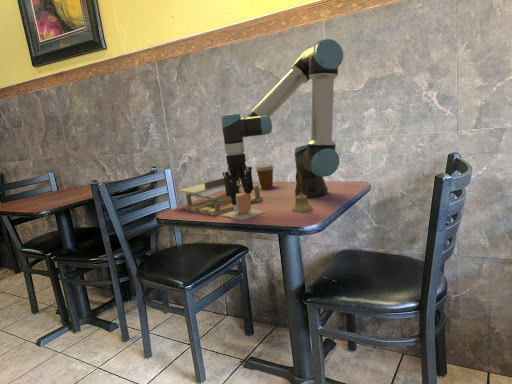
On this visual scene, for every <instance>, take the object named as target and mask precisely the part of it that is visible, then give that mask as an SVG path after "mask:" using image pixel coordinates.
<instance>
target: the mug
mask: <svg viewBox="0 0 512 384" xmlns="http://www.w3.org/2000/svg"><path fill="white" fill-rule="evenodd" d="M230 178H231V174H230ZM234 178H235V177H234ZM230 180H231V179H230ZM237 181H238V183H237V184H241V180H240V178H239V177H238V180H237ZM240 188H241V186H237V189H236V194H238V193H240Z"/></svg>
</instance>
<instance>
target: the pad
mask: <svg viewBox="0 0 512 384" xmlns="http://www.w3.org/2000/svg"><path fill="white" fill-rule="evenodd" d="M265 212H266V211H265V210H259V209H253V208H251V211H248V212H244V213H237V212H234V210H233V211H232V210H231V211H228V212H225V213H222V214H220V215H221V217H224V216H225V218H228V217H230V219H233V218H234V219H235V220H238V219H239V220H240V221H245V219H246V220H248V219H251V218H254V217H257V216H259V215H260V216H261V215H262V214H265Z"/></svg>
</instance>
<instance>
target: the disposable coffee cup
mask: <svg viewBox="0 0 512 384" xmlns="http://www.w3.org/2000/svg"><path fill="white" fill-rule="evenodd" d="M273 169H274V166H273V164H262V165H257V166H256V168H255V170H256V172H257V177H258V181H259V185H260V188H261V189H262V190H268V189H272V188H273V187H274V185H273V183H274V182H273V178H274V170H273Z"/></svg>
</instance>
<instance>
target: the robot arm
mask: <svg viewBox="0 0 512 384" xmlns="http://www.w3.org/2000/svg"><path fill="white" fill-rule="evenodd" d="M343 59H344V50H343V49H342V45H341V44H339V42H337V41H336V40H335V39H330V38H325V39H322V40H319V41H318V42H316V43H315V44H313V45H309V47H307V48H306V49H305V50H303V52H302V53H301V55H300V56H299V57H298V58H297V59H296V61H294V62H293V64H292V65H291V66H290V69H289V70H290V71H288V73H286V75H285V76H284V77H283V78H281V79H280V81H279V82H278V83H277V84H276V85H275V86H274V87H273V88H272V89H271V90H270V91H269V92H267V94H266V96H264V97H263V98H262V100H261V101H259V103H258V104H257V105H255V107H254V108H253V109H252V110H251V111H250V112H249V113H248V114H247V115H246V116H245V117H241V114H240V113H231V114H224V115H222V116H221V125H222V126H221V129H222V136H223V142H224V149H225V150H224V151H225V154H226V156H225V159H226V164H227V170H226V171H222V173H221V174H222V176H223V178H224V181H225V187H224V189H225V195H226V196H230V197H231V205H233V206H234V209H233V211H234V212H237V213H239V212H240V210H239V202H238V197H237V196H236V194H237V193H236V189H237V180H238V177H239V178H240V184H242V186H243V187H242V186H241V187H242V190H243V191H244V192H243V193H248V194H249V197H250V195H251V193H252V191H254V188H253V185H254V182H253V176H252V172H253V171H252V170H253V167H252V166H247V164H246V154H245V143H244V138H247V137H257V136H266V135H269V134H271V133H272V131H273V122H272V119H271V117H272V116H273V114H274V113H275V112H276V111H277V110H278V109H279V108H280V107H281V106H282V105H283V104H284V103H285V102H286V101H287V100H288V99H289V98H290V97H291V96H292V95H293V94H294V93H295V92H296V90H298V89H299V87H300V86H302V85H303V84H307V82H308V81H309V80H312V84H311V86H312V88H311V90H312V91H311V125H310V126H311V132H310V133H311V135H310V141H308V143H307V144H305V145H304V144H303V145H298V146H296V147H295V148H294V160H295V170H296V171H297V170H300V173H301V175H302V191H303V194H304V195H306V196H307V199H310V198H311V199H312V198H318V197H323V196H326V195H327V194H328V193H329V192H328V191H329V190H328V187H327V184H326V182H325V181H326V180H325V179H324V177H329V176H331V175H333V174H334V173H336V172H337V170H338V168H339V165H340V156H339V154H338V153H337V151H336V143H335V142H334V141H333V118H334V114H333V113H334V90H335V87H334V86H335V85H334V82H335V80H336V79H337V77H338V76H339V66H341V64H342V62H343ZM296 171H295V172H296ZM230 174H231V178H230ZM234 177H235V178H234ZM230 179H231V180H230ZM294 195H295V197H296V196H298V195H299V192H298V185H297V183H296V185H295V190H294Z"/></svg>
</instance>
